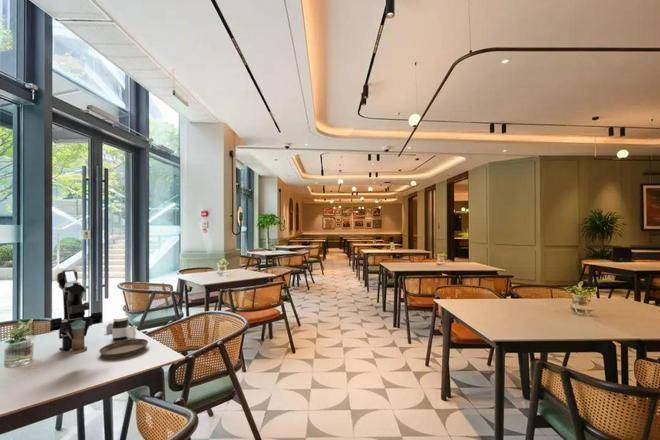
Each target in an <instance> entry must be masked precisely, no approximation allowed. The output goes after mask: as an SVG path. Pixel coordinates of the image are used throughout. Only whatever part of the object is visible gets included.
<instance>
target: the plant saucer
mask: <svg viewBox="0 0 660 440" xmlns="http://www.w3.org/2000/svg"><path fill="white" fill-rule="evenodd" d="M148 344H149V341H148V340H147V339H143V338H133V339H123V340H118V341H115V342H112V343H110V344H107V345H105V346H102V347H101V348H99V350H98V352H99V354H100V355H101V356H103V357H104V358H108V359H121V358H126V357H130V356H133V355H136V354H138V353H141V352H142V351H143V350H144V349H145V348H146V347H147V345H148Z"/></svg>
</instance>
